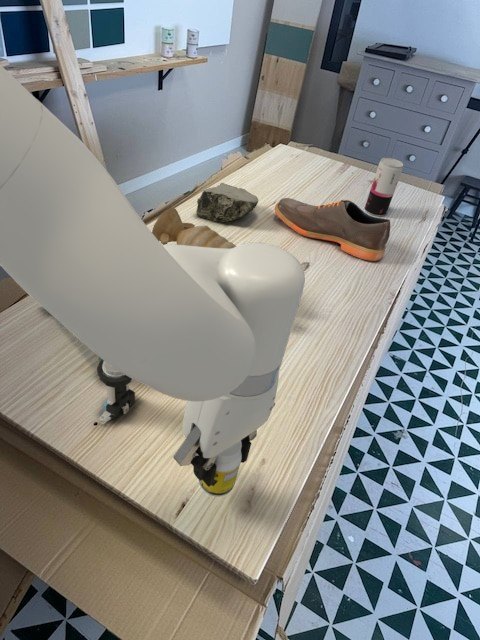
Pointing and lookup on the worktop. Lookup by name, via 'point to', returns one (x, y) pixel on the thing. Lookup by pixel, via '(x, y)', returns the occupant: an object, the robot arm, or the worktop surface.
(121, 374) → the push button
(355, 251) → the oxford shoe
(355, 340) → the worktop surface
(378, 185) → the beverage can
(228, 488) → the supplement bottle
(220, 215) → the concrete fragment
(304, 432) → the worktop surface
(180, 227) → the toy animal figurine
